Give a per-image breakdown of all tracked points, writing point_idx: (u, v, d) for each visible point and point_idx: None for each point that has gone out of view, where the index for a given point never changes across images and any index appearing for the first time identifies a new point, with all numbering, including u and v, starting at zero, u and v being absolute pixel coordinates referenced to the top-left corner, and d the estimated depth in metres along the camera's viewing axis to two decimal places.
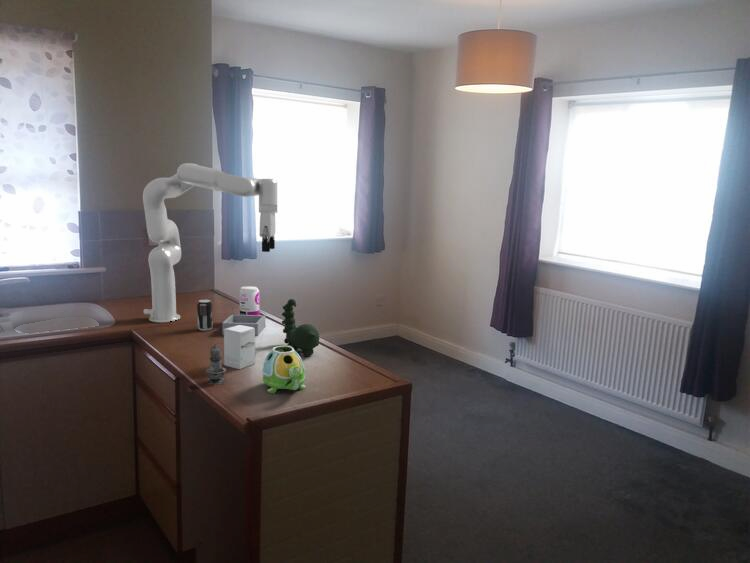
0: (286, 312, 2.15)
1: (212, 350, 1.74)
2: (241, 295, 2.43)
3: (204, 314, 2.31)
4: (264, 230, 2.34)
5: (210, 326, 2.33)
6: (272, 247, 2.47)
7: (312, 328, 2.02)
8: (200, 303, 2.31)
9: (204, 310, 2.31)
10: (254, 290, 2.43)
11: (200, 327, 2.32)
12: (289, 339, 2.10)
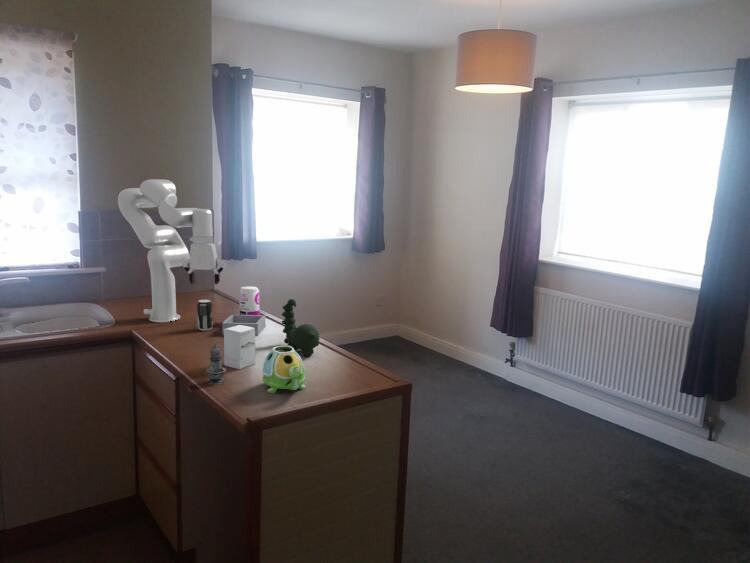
0: (286, 312, 2.15)
1: (212, 350, 1.74)
2: (241, 295, 2.43)
3: (204, 314, 2.31)
4: (222, 261, 2.29)
5: (210, 326, 2.33)
6: (194, 281, 2.32)
7: (312, 328, 2.02)
8: (200, 303, 2.31)
9: (204, 310, 2.31)
10: (254, 290, 2.43)
11: (200, 327, 2.32)
12: (289, 339, 2.10)
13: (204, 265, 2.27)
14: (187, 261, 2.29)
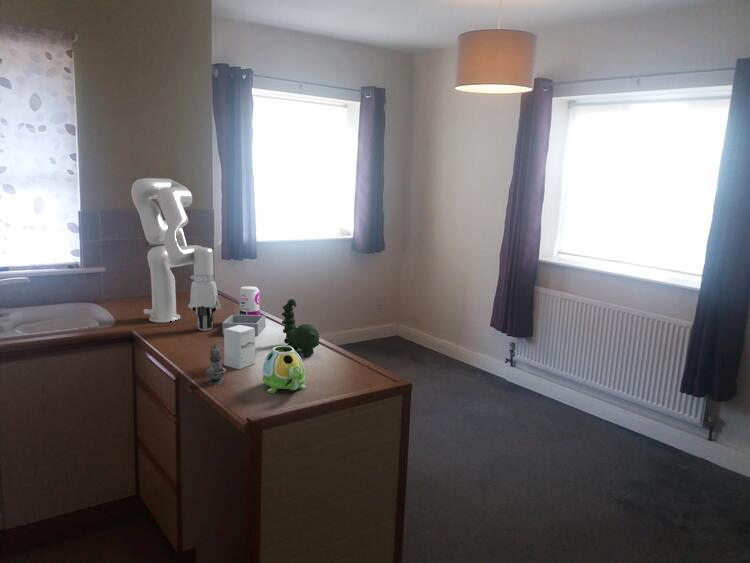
0: (286, 312, 2.15)
1: (212, 350, 1.74)
2: (241, 295, 2.43)
3: (204, 314, 2.31)
4: (219, 303, 2.33)
5: (210, 326, 2.33)
6: None
7: (312, 328, 2.02)
8: None
9: (204, 310, 2.31)
10: (254, 290, 2.43)
11: (200, 327, 2.32)
12: (289, 339, 2.10)
13: (205, 303, 2.30)
14: None
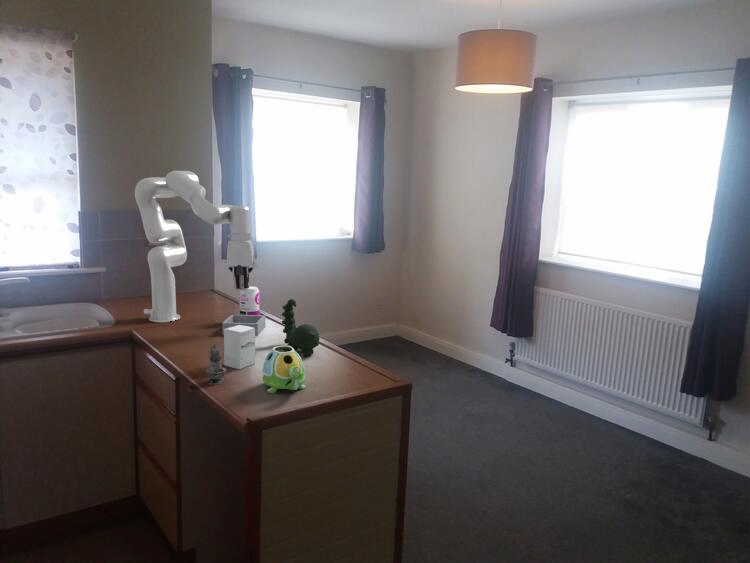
0: (286, 312, 2.15)
1: (212, 350, 1.74)
2: (241, 295, 2.43)
3: (241, 274, 2.27)
4: (256, 263, 2.29)
5: (247, 286, 2.30)
6: None
7: (312, 328, 2.02)
8: None
9: (241, 269, 2.27)
10: (254, 290, 2.43)
11: (237, 287, 2.28)
12: (289, 339, 2.10)
13: (241, 262, 2.27)
14: None
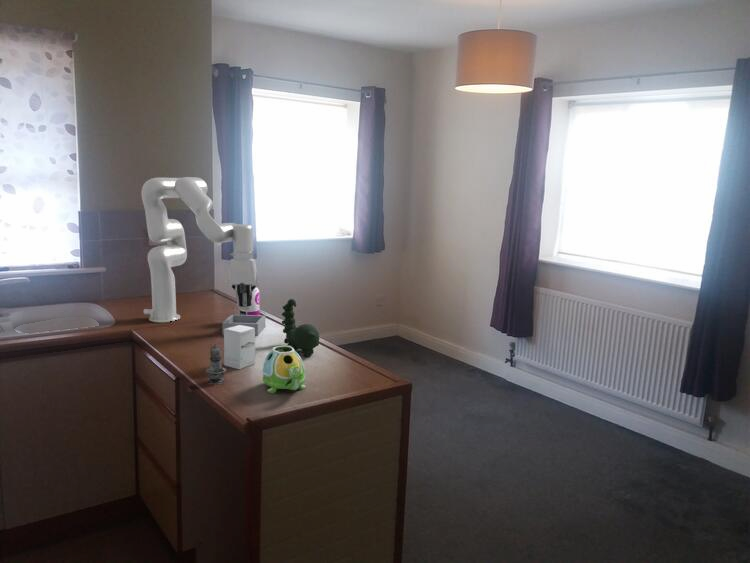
0: (286, 312, 2.15)
1: (212, 350, 1.74)
2: None
3: (243, 292, 2.29)
4: (258, 281, 2.31)
5: (250, 304, 2.31)
6: None
7: (312, 328, 2.02)
8: None
9: (244, 287, 2.28)
10: (254, 290, 2.43)
11: (240, 305, 2.30)
12: (289, 339, 2.10)
13: (244, 280, 2.28)
14: None
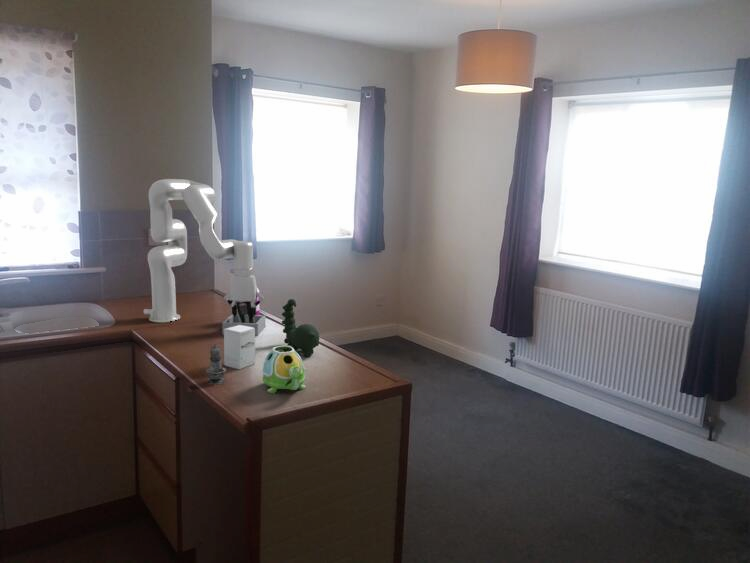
0: (286, 312, 2.15)
1: (212, 350, 1.74)
2: None
3: (245, 313, 2.30)
4: (261, 295, 2.32)
5: None
6: (236, 314, 2.34)
7: (312, 328, 2.02)
8: (239, 303, 2.30)
9: (245, 309, 2.30)
10: None
11: None
12: (289, 339, 2.10)
13: (244, 297, 2.29)
14: (228, 294, 2.31)
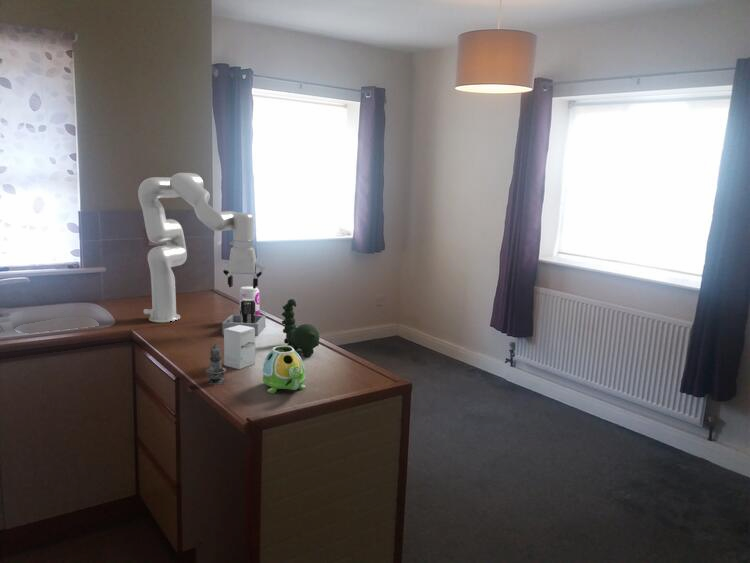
0: (286, 312, 2.15)
1: (212, 350, 1.74)
2: (241, 295, 2.43)
3: (248, 313, 2.31)
4: (261, 266, 2.30)
5: None
6: (232, 284, 2.32)
7: (312, 328, 2.02)
8: (244, 302, 2.31)
9: (249, 308, 2.31)
10: (254, 290, 2.43)
11: None
12: (289, 339, 2.10)
13: (243, 269, 2.27)
14: (226, 264, 2.29)
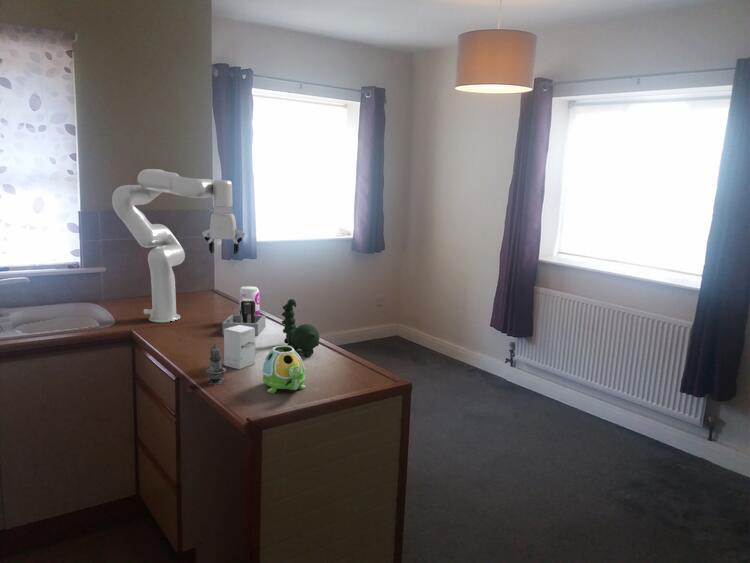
0: (286, 312, 2.15)
1: (212, 350, 1.74)
2: (241, 295, 2.43)
3: (248, 313, 2.31)
4: (241, 231, 2.35)
5: None
6: (213, 250, 2.38)
7: (312, 328, 2.02)
8: (244, 302, 2.31)
9: (249, 308, 2.31)
10: (254, 290, 2.43)
11: None
12: (289, 339, 2.10)
13: (224, 235, 2.33)
14: (207, 231, 2.35)
